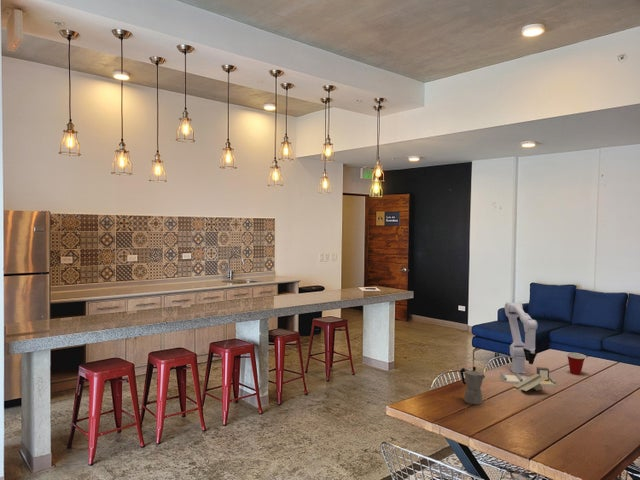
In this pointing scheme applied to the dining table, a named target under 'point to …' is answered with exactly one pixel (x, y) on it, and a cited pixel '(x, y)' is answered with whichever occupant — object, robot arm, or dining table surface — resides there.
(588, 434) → the dining table surface
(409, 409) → the dining table surface
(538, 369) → the picture frame
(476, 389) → the coffeepot
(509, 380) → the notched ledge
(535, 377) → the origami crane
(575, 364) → the plastic cup
